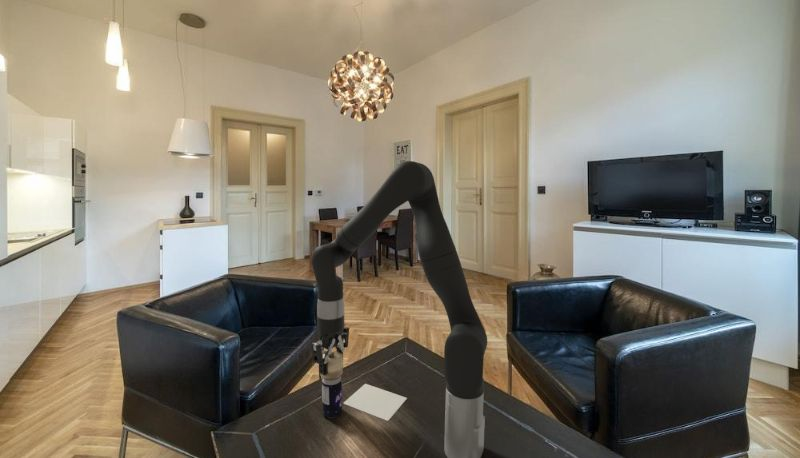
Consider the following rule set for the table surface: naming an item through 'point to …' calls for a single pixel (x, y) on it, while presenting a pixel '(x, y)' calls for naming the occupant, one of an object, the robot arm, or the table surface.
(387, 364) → the table surface
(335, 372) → the lid
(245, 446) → the table surface
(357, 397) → the mat
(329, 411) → the beverage can
